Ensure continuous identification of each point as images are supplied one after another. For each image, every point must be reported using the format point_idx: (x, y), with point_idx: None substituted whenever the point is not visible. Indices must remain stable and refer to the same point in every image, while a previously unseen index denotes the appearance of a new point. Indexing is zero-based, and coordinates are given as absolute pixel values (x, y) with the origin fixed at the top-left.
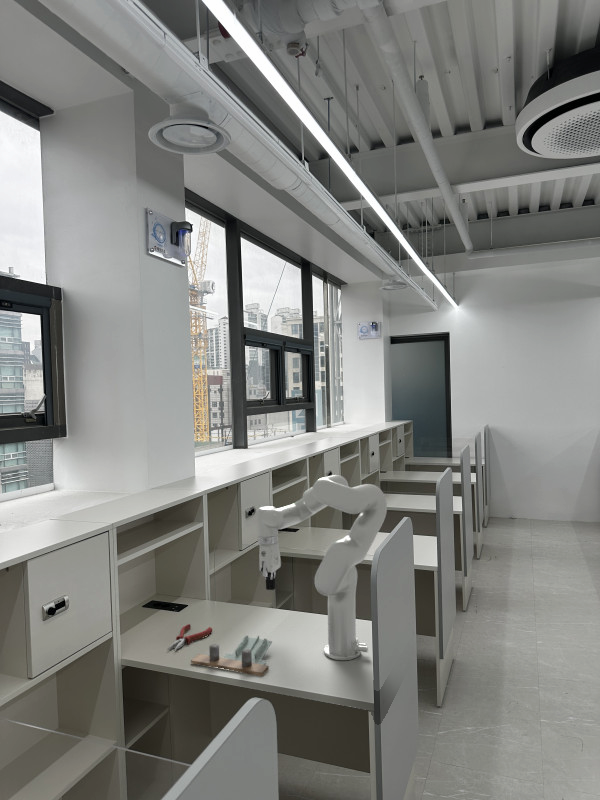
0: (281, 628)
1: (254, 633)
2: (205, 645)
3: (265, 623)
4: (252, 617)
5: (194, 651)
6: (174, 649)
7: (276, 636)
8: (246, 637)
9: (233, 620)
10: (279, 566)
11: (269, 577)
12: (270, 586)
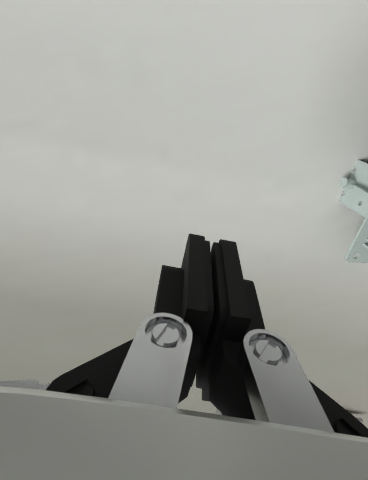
0: (125, 125)
1: (199, 233)
2: (312, 358)
3: (86, 212)
4: (39, 276)
5: (355, 373)
6: (361, 421)
7: (222, 130)
8: None
9: (89, 331)
10: (28, 423)
11: (321, 392)
12: (252, 292)
